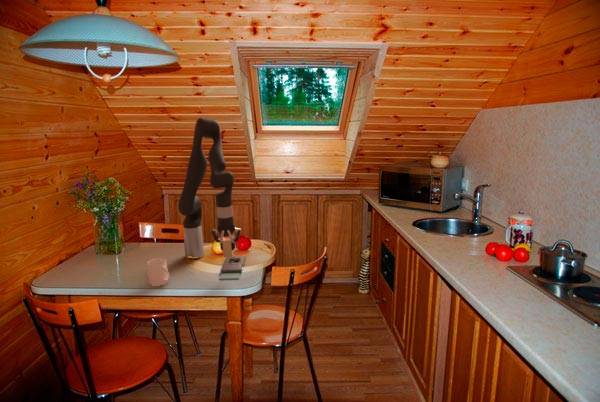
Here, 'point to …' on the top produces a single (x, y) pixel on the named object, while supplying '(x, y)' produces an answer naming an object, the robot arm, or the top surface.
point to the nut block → (227, 247)
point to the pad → (229, 276)
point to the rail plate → (233, 265)
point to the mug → (157, 271)
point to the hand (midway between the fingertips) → (228, 249)
